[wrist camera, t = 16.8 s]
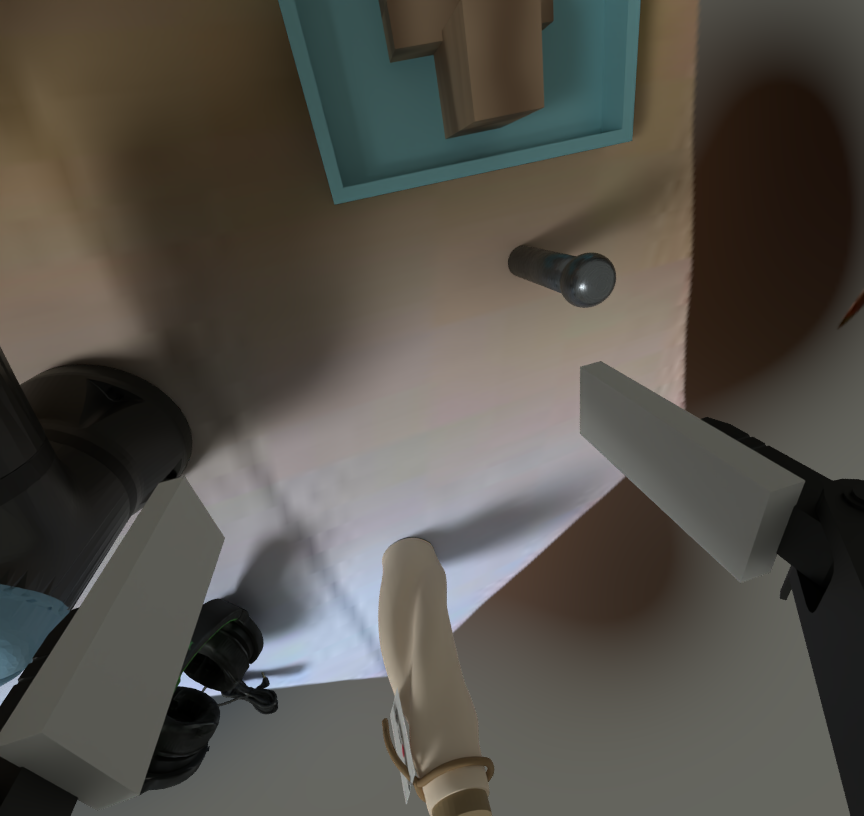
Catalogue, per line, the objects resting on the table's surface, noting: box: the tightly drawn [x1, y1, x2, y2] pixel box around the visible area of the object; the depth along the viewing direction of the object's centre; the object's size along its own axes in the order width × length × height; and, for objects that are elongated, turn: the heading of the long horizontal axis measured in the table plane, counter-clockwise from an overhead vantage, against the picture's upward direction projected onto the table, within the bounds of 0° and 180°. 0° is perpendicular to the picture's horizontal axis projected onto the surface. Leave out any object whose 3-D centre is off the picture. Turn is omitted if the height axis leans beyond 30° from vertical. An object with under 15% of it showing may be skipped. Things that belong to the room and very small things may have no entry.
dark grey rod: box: [508, 246, 616, 308], centre depth 34 cm, size 4×4×14 cm
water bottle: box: [378, 538, 494, 816], centre depth 44 cm, size 10×9×28 cm
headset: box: [134, 599, 278, 798], centre depth 48 cm, size 18×14×29 cm
